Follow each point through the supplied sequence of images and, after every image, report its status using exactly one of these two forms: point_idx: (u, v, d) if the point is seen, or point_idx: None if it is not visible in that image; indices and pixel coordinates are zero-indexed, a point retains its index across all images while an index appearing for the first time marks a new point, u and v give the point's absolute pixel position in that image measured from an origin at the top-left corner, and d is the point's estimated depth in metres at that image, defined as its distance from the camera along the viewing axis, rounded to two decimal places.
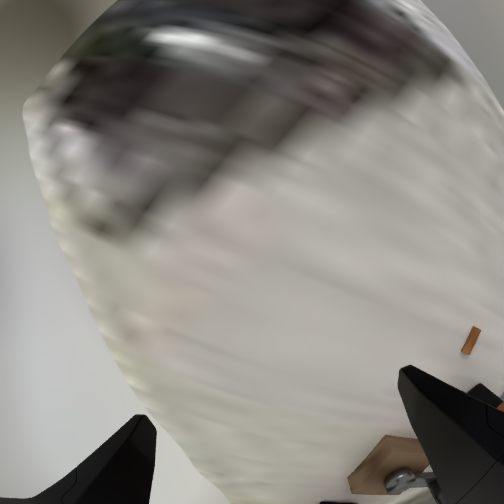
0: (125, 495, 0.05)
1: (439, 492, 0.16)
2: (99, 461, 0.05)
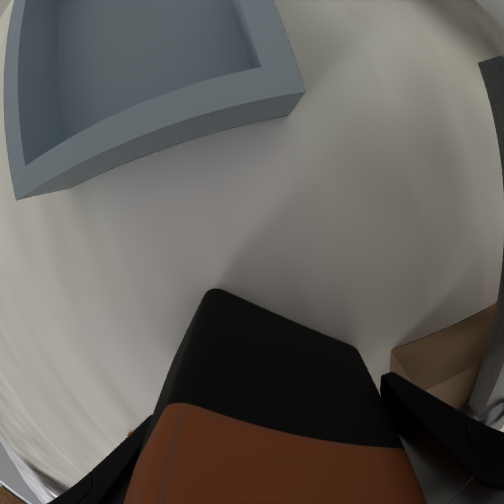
0: None
1: None
2: (116, 464, 0.05)
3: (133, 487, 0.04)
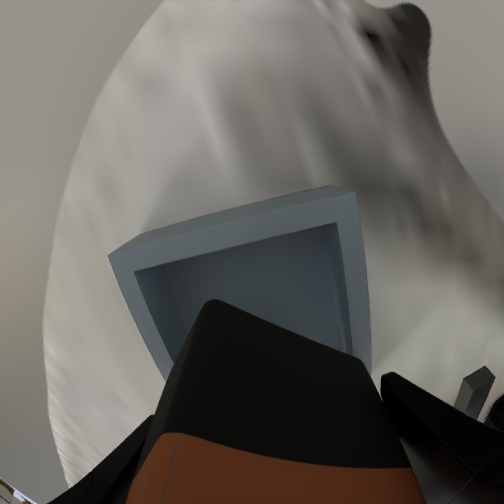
0: None
1: None
2: (116, 464, 0.05)
3: None
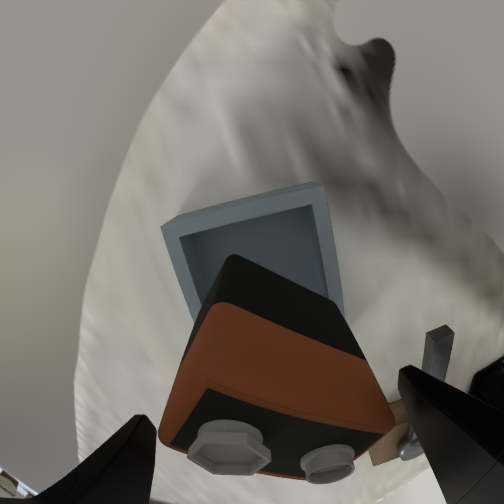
0: (125, 495, 0.05)
1: None
2: (99, 461, 0.05)
3: (185, 365, 0.08)
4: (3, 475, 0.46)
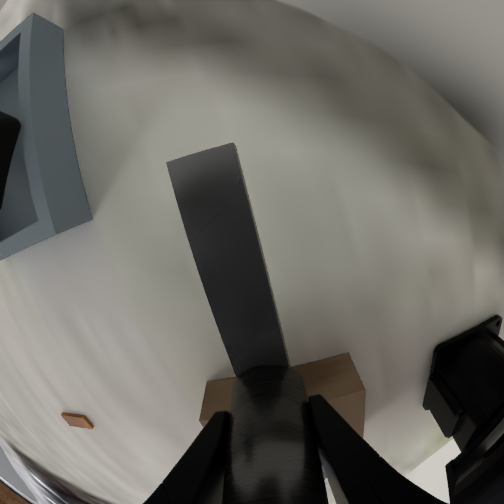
0: None
1: None
2: (192, 471, 0.05)
3: None
4: None
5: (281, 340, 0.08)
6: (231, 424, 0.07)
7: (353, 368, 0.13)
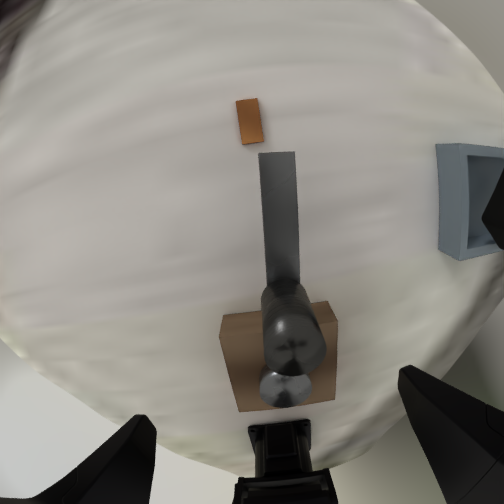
0: (125, 495, 0.05)
1: None
2: (99, 461, 0.05)
3: None
4: None
5: (298, 263, 0.15)
6: (267, 304, 0.13)
7: None
